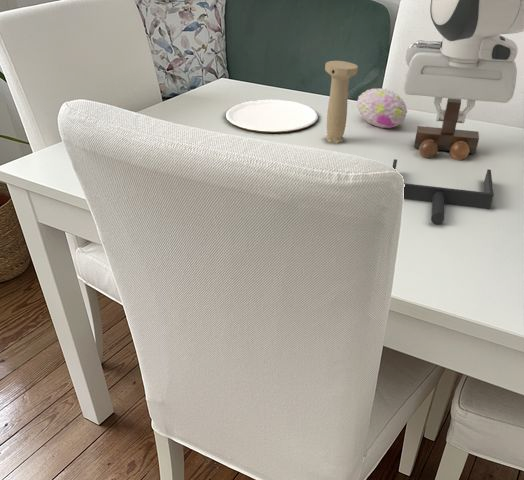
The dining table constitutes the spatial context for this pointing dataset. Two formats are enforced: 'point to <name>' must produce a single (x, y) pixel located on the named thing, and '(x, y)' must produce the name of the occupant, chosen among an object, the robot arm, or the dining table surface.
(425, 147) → the crumb
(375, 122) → the decorative item
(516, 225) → the dining table surface
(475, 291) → the dining table surface
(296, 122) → the plate
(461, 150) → the crumb
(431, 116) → the dining table surface
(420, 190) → the dustpan
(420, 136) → the brush
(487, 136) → the dining table surface
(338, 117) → the handle
